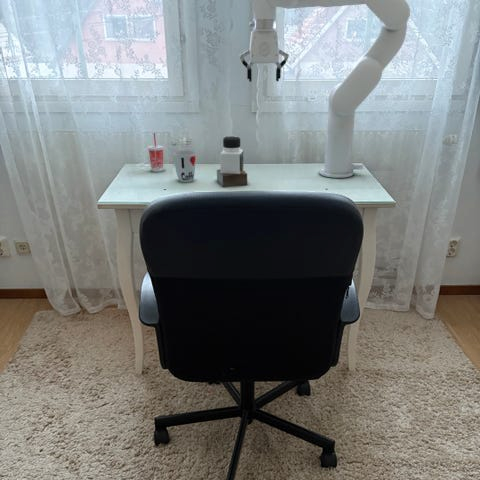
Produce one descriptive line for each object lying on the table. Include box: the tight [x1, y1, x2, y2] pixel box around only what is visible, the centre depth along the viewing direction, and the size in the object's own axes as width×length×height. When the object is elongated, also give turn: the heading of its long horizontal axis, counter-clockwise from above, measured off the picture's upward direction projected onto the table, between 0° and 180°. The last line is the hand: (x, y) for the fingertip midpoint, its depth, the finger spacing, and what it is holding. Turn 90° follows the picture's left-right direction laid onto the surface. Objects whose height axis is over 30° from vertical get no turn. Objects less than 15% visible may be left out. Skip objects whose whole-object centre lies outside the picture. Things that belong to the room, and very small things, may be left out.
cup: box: [172, 149, 197, 183], centre depth 188 cm, size 8×8×10 cm
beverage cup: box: [147, 132, 164, 173], centre depth 200 cm, size 6×6×14 cm
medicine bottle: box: [219, 135, 244, 174], centre depth 183 cm, size 7×7×12 cm
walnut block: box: [216, 168, 248, 188], centre depth 187 cm, size 9×9×4 cm
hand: (263, 81), depth 184 cm, fingers open, 9 cm apart
